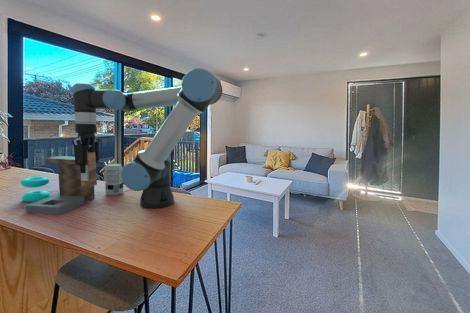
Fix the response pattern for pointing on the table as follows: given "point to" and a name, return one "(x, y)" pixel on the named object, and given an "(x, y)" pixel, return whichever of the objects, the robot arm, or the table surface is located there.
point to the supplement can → (113, 179)
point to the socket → (55, 205)
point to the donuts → (35, 195)
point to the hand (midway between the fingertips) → (89, 179)
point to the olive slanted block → (71, 178)
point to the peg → (90, 170)
